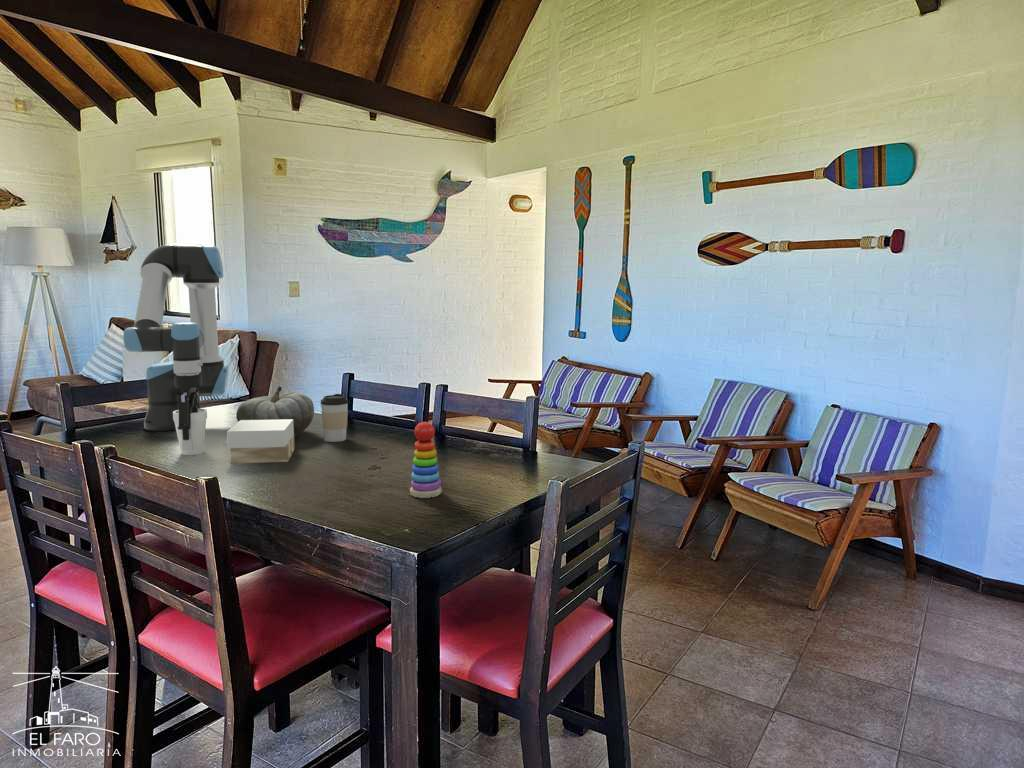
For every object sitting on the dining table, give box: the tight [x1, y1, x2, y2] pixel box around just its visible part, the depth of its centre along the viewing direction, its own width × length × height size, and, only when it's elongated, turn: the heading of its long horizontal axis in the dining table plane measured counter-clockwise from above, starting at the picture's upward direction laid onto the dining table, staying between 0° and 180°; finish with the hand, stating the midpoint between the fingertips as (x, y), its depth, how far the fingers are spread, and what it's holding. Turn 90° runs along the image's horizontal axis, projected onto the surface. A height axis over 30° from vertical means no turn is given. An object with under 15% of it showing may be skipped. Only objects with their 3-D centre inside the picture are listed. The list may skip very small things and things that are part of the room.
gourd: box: [236, 385, 315, 437], centre depth 234 cm, size 25×25×17 cm
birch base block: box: [229, 435, 296, 465], centre depth 209 cm, size 16×16×5 cm
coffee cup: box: [319, 393, 349, 443], centre depth 230 cm, size 9×9×15 cm
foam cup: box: [173, 407, 208, 456], centre depth 210 cm, size 10×9×13 cm
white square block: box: [226, 419, 294, 449], centre depth 207 cm, size 16×16×5 cm
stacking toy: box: [409, 421, 443, 499], centre depth 172 cm, size 8×8×19 cm
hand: (192, 446), depth 211 cm, fingers closed on foam cup, 9 cm apart
